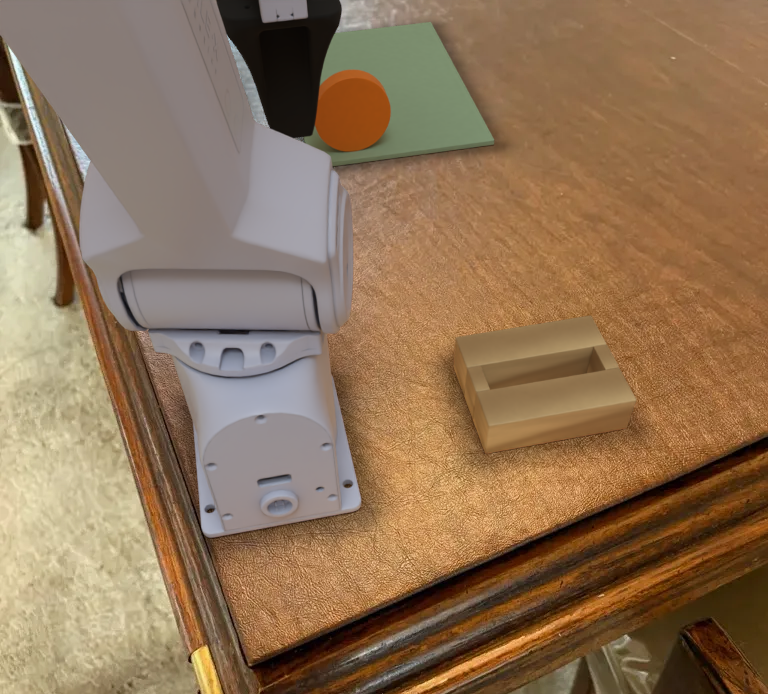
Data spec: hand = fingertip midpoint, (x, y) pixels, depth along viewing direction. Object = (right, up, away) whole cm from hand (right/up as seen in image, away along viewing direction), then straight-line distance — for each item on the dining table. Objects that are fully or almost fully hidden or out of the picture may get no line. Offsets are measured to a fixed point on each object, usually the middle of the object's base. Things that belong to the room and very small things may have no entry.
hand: (284, 98), depth 45 cm
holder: (+14, -17, 0) cm, 22 cm away
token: (+3, +5, +13) cm, 14 cm away
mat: (+5, +10, +21) cm, 23 cm away
